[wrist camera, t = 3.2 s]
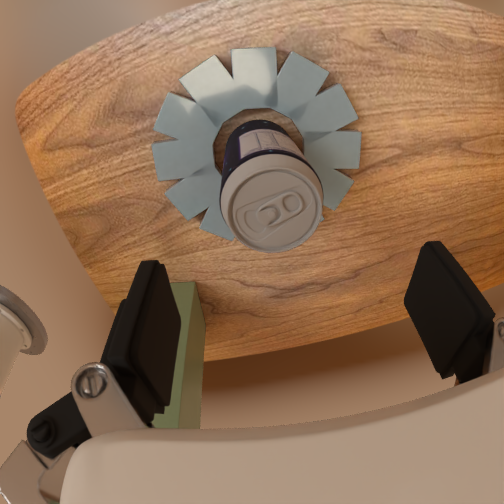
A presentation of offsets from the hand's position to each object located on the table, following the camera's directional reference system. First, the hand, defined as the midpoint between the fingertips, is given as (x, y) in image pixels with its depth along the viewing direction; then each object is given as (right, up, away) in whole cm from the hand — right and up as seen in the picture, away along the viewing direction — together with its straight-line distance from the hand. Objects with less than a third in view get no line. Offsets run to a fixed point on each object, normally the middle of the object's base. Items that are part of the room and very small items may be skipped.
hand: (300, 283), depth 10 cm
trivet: (-1, +10, +14) cm, 18 cm away
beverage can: (-1, +10, +15) cm, 18 cm away
